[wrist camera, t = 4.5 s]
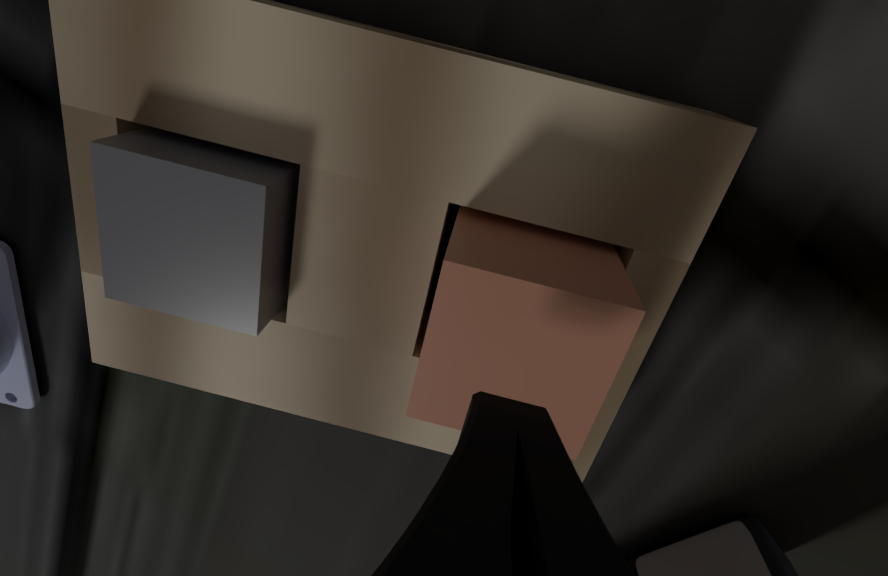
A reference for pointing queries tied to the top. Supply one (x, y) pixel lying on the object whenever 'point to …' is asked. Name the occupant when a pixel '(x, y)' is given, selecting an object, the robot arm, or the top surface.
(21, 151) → the top surface
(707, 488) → the top surface
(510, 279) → the brown cube
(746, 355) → the top surface
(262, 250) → the gray cube
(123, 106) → the tan flat rectangular block
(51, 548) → the top surface
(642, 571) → the grey and red box
